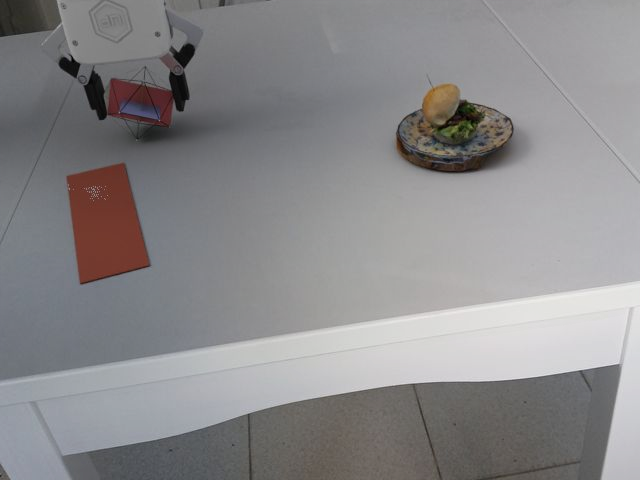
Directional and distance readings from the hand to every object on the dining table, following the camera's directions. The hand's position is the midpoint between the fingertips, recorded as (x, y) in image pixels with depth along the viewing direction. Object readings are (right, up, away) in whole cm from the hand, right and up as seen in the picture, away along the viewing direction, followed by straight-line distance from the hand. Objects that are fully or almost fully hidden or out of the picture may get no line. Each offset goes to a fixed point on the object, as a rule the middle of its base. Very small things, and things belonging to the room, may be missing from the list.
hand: (143, 109), depth 80 cm
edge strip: (-1, -14, -10) cm, 17 cm away
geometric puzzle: (0, -2, +2) cm, 3 cm away
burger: (+34, -5, -5) cm, 34 cm away
